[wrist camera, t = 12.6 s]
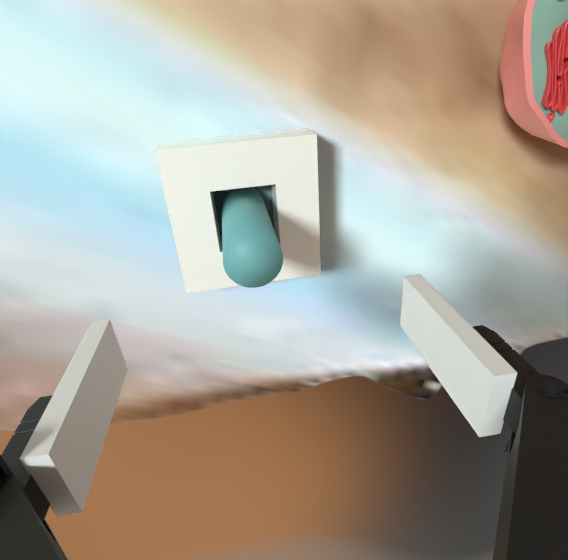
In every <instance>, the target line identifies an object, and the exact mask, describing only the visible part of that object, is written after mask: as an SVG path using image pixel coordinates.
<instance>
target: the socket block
mask: <svg viewBox="0 0 568 560" xmlns="http://www.w3.org/2000/svg"><path fill="white" fill-rule="evenodd" d="M154 151H155V155H156V159H157V164H158V168H159V173H160V177H161V182H162V186H163V191H164V195H165V199H166V204H167V208H168V213H169V217H170V222H171V226H172V230H173V235H174V239H175V244H176V248H177V253H178V257H179V262H180V266H181V270H182V275H183V279H184V284H185V288H186V293H190V292H197V291H205V290H212V289H219V288H227V287H234V286H241V285H239V284H237V283H235V282H234V281H232V280H231V279H230V278H229V277H228V275H227V274H226V272H225V270H224V266H223V246H222V235H220V233H219V227H218V221H217V215H216V208H215V202H214V196H213V191H220V190H229V189H238V188H247V187H256V186H265V185H271V192H272V203H273V214H274V225H275V229H274V231H275V234H276V236H277V239H278V242H279V245H280V247H281V250H282V253H283V265H282V268H281V271H280V272H279V274H278V275H277V277H276V278H275V279H274V280H272V281H278V280H286V279H293V278H301V277H308V276H315V275H321V258H320V224H319V190H318V156H317V134H316V133H314V132H313V131H311V130H309V129H307V128H302V129H292V130H282V131H271V132H261V133H251V134H241V135H230V136H220V137H210V138H199V139H189V140H179V141H169V142H161V143H160V144H159V145H158V147H157V148H156V149H155V150H154Z"/></svg>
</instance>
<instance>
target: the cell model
mask: <svg viewBox="0 0 568 560" xmlns="http://www.w3.org/2000/svg"><path fill="white" fill-rule="evenodd" d="M499 72H500V79H501V84H502V89H503V95H504V103H505V107H506V110H507V112H508V113H509V115H510V117H511V118H512V119H513V120H514V122H515V123H516V124H517V125H519V126H520V127H521V128H522V129H523V130H525V131H526V132H528V133H529V134H531V135H533V136H535V137H538V138H541V139H544V140H547V141H550V142H552V143H555V144H557V145H560V146H562V147H566V148H568V0H518V2H517V3H516V5H515V6H514V8H513V10H512V12H511V14H510V16H509V19H508V22H507V28H506V35H505V41H504V46H503V50H502V55H501V59H500V65H499Z"/></svg>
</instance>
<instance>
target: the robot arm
mask: <svg viewBox="0 0 568 560" xmlns="http://www.w3.org/2000/svg"><path fill="white" fill-rule="evenodd" d="M400 326H401V327H402V329H403V330H404V332H405V333H406V335H407V336H408V337H409V339H410V340H411V342H412V343H413V344H414V346H415V347H416V349H417V350H418V351H419V353H420V354H421V356H422V357H423V358H424V360H425V361H426V363H427V364H428V366H429V367H430V368H431V370H432V371H433V373H434V374H435V375H436V377H437V378H438V380H439V381H440V382H441V384H442V385H443V387H444V388H445V390H446V391H447V392H448V394H449V395H450V397H451V398H452V399H453V401H454V402H455V404H456V405H457V406H458V408H459V409H460V411H461V412H462V413H463V415H464V416H465V418H466V419H467V421H468V422H469V423H470V425H471V426H472V428H473V429H474V430H475V432H476V433H477V435H478V436H479V437H483V436H489V435H494V434H499V433H501V429H502V426H503V422H504V421H505V423H506V424H507V425H508V426H509V428H510V429H511V430H512V431H511V434H510V438H509V441H508V444H507V447H506V452H507V460H506V467H505V475H504V482H503V490H502V496H501V504H500V511H499V518H498V525H497V532H496V539H495V547H494V554H493V560H568V384H566V383H565V382H563V381H562V380H560V379H557V378H555V377H552V376H547V375H540V374H539V373H538V372H537V371H536V370H535V369H534V368H533V367H531V365H530V364H528V363H527V362H526V361H525V360H524V359H523V358H522V357H521V356H520V355H519V354H518V353H517V352H516V351H515V350H512V347H511V346H509V345H508V344H507V343H505V341H504V340H503V339H502V338H501V337H500V336H499V335H498V334H497V333H496V332H494V331H492V330H490V329H488V328H487V327H485V326H483V325H481V326H474V327H472V326H471V325H470V324H469V323H468V322H467V321H466V320H465V319H464V318H463V317H462V316H461V315H460V314H459V313H458V312H457V311H456V310H455V309H454V308H453V307H452V306H451V305H450V304H449V303H448V302H447V301H446V300H445V299H444V298H443V297H442V296H441V295H440V294H439V293H438V292H437V291H436V290H435V289H434V288H433V287H432V286H431V285H430V284H429V283H428V282H427V281H426V280H425V279H424V278H423V277H422V276H421V275H420V274H416V275H409V276H404V281H403V294H402V306H401V319H400ZM127 369H128V368H127V365H126V362H125V360H124V357H123V354H122V352H121V349H120V346H119V343H118V341H117V338H116V335H115V333H114V330H113V327H112V325H111V322H110V320H103V321H97V322H91V324H90V326H89V327H88V329H87V331H86V333H85V335H84V337H83V339H82V341H81V343H80V345H79V346H78V348H77V350H76V352H75V354H74V356H73V358H72V360H71V362H70V364H69V366H68V367H67V369H66V371H65V373H64V375H63V377H62V379H61V381H60V383H59V385H58V386H57V388H56V390H55V392H54V394H53V395H52V396H46V397H40V398H39V399H38V400H37V401H36V402H35V403H34V404H33V405H32V406H31V407H30V408H29V409H28V410H27V412H26V413H25V415H24V417H23V419H22V420H21V424H19V426H18V427H17V429H16V431H15V435H13V436H12V438H11V439H10V442H9V443H8V445H7V446H6V448H5V450H4V452H3V454H2V455H0V560H68V559H67V558H66V556H65V554H64V552H63V551H62V549H61V547H60V545H59V543H58V542H57V540H56V538H55V536H54V534H53V533H52V531H51V529H50V527H49V526H48V524H47V522H46V521H45V519H44V518H45V516H46V513H47V511H48V508H49V506H50V507H51V509H52V510H53V512H54V513H55V514H56V516H62V515H67V514H72V513H78V512H82V511H83V507H84V504H85V501H86V498H87V495H88V491H89V489H90V485H91V482H92V479H93V476H94V473H95V470H96V467H97V463H98V460H99V457H100V454H101V451H102V448H103V445H104V442H105V438H106V435H107V432H108V429H109V425H110V423H111V420H112V416H113V413H114V410H115V407H116V404H117V401H118V398H119V394H120V391H121V388H122V385H123V382H124V379H125V376H126V372H127Z"/></svg>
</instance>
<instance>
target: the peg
mask: <svg viewBox="0 0 568 560" xmlns="http://www.w3.org/2000/svg"><path fill="white" fill-rule="evenodd" d="M222 246H223V266H224V270H225V272H226V274H227V275H228V277H229V278H230V279H231V280H232V281H234V282H235V283H237V284H239V285H241V286H244V287H260V286H263V285H266V284H268V283H269V282H271V281H272V280H274V279H275V278H276V277H277V275H278V274H279V272H280V271H281V268H282V265H283V253H282V250H281V247H280V245H279V242H278V239H277V236H276V234H275V231H274V228H273V226H272V223H271V220H270V217H269V215H268V212H267V209H266V207H265V204H264V201H263V198H262V196H261V194H260V193H259V192H258V191H257V190H256V189H255V188H253V187H247V188H238V189H229V190H228V191H227V192H226V193H225V195H224V196H223V199H222Z"/></svg>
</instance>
